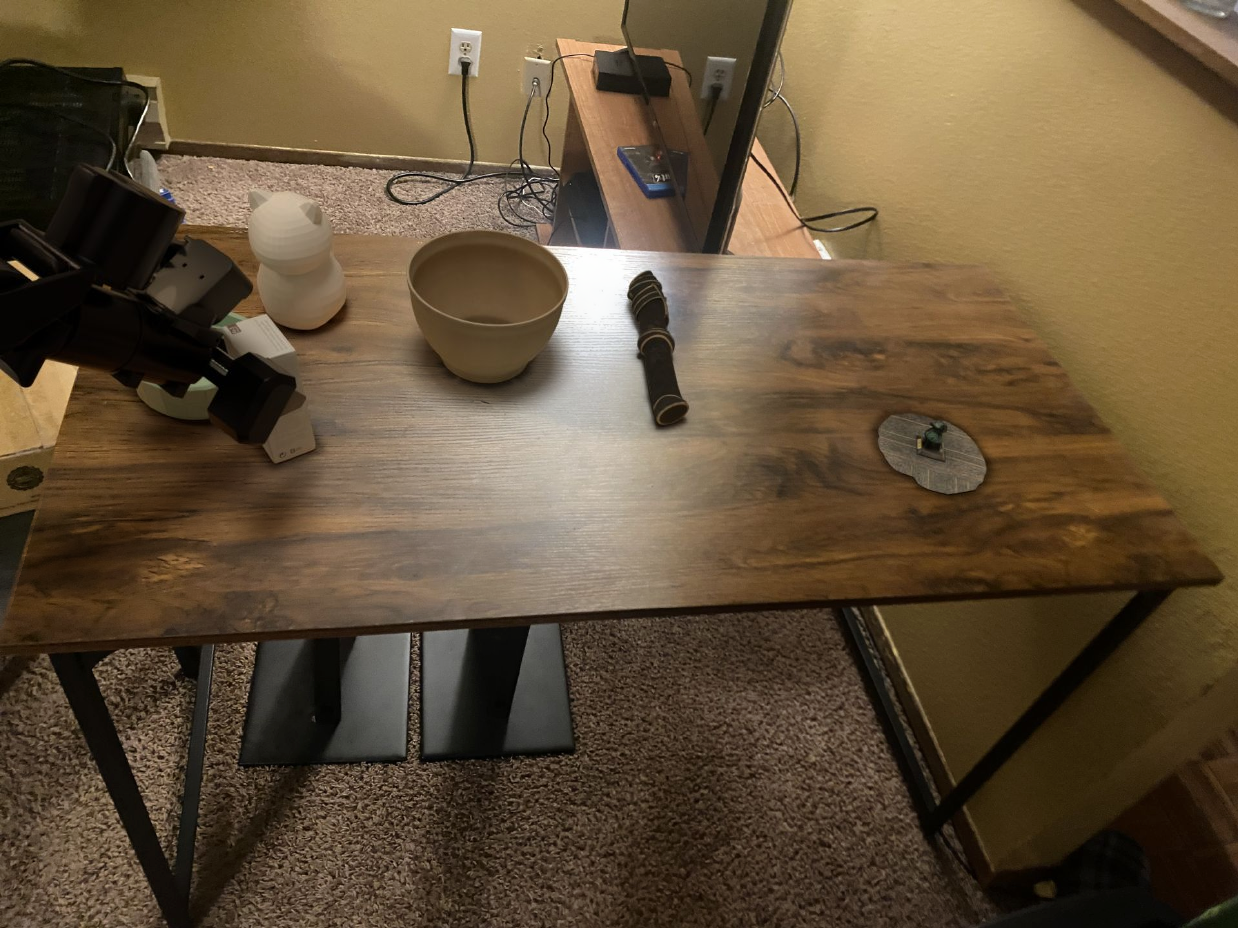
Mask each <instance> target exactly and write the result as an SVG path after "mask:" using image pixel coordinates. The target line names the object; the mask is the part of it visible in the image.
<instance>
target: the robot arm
mask: <svg viewBox="0 0 1238 928" xmlns="http://www.w3.org/2000/svg"><path fill="white" fill-rule="evenodd" d="M187 212H188V211H186V210H184V209H183V208H182V207H180V206H179V205H177V203H175V202H172V201H171V200H169V199H168V198H166V197H164V196H162V195H161V194H159V193H157V192H156V191H154V190H152V189H150V188H149V187H147V186H145V185H143V184H141V183H139V182H137V181H136V180H134V179H132V178H130V177H128V176H126V175H124V174H123V173H120V172H118V171H117V170H114V169H112V168H108V170H106V169H104V168H102V167H99V166H92V165H89V164H87V163H85V162H83V161H80V162H78V163H77V164H76V166H75V168H74V169H73V172H72V173H71V176H70V178H69V180H68V184H67V189H66V191H65V194H64V196H63V198H62V200H61V202H60V203H59V206H58V208H57V209H56V211H55V213H54V215H53V217H52V219H51V221H50V223H49V225H48V227H47V228H46V230H45V232H44V231H42V230H40V229H36V228H35V227H33V226H32V225H31V224H29V222H26V220H24V219H22V218H16V219H11V220H6V221H2V222H0V371H2V372H3V373H4V374H6V375H7V376H8V377H9V378H10V379H11V380H13V381H14V382H15V383H16V384H17V385H19V386H20V388H21V387H22V388H23V389H29V388H31V387H32V386H33V385H34V383H35V381H36V379H37V376H39V373H40V371H41V369H42V368H43V366H44V364H45V363H46V361H50V362H54V363H55V362H56V363H58V364H59V363H60V364H64V365H68V366H73V367H77V368H81V369H85V370H86V369H87V370H91V371H95V372H100V373H105V374H108V375H109V376H111V377H112V378H114V380H115V381H117V382H118V383H120V384H121V385H122V386H124V387H125V388H131V389H135V390H136V389H138V387H139V385H140V383H141V381H144V382H149V383H153V384H157V385H158V386H159V387H161V388H162V389H163V390H165V391H166V392H167V393H168V394H170V395H171V396H172V397H177V398H182V399H183V398H184V396H185V394H186V392H187V390H188V389H189V387H190V385H191V384H193V385H194V384H196V383H197V382H198V381H199V380H200V379H201V378H202V377H204V378H206V379H207V380H208V381H210V382H211V383H212V384H214V385H215V386H216V387H218V390H217V392H216V394H215V396H214V397H213V399H212V401H211V403H210V405H209V406H208V408H207V412H208V415H209V418H210V419H209V422H210V423H211V424H213V425H214V426H215V427H216V428H218V429H219V430H221V431H222V432H223V433H224V434H226V435H227V436H228V437H230V438H231V439H232V440H233V441H235V442H236V443H238V444H239V445H246V446H252V447H260V446H263V444H265V443H266V441H267V439H268V438H269V436H270V434H271V432H272V431H273V429H274V427H275V425H276V423H277V422H278V420H279V418H280V417H281V416H284V415H286V414H288V413H290V412H292V411H294V410H297V409H299V408H301V407H302V405H303V404H304V402H305V400H306V401H307V396H306V394H305V395H303V394H302V393H300V392H298V391H296V388H297V385H296V378H295V377H294V376H293V375H291V374H290V373H288V372H287V371H286V370H285V369H283V368H282V367H280V366H279V365H277V364H276V363H275V362H273V361H272V360H270V359H269V358H268V357H267V358H265V357H263V356H261V355H259V354H255V353H252V352H247V353H246V354H244V355H242V356H240V357H238V358H236V359H233V358H232V357H230V356H229V355H228V352H227V348H226V345H225V341H224V338H222V337H223V335H224V334H223V333H222V332H221V331H219V330H218V329H216V328H213V327H211V326H213V325H216V324H218V323H220V322H221V321H222V320H223V319H224V318H225V317H226V316H227V315H228V314H229V313H230V312H233V310H234V309H235V308H237V306H238V305H239V304H240V303H241V302H242V301H245V300H246V299H248V298H249V296H250V295H251V294H252V292H254V291H253V290H254V283H253V282H252V281H251V279H250V277H248V276H247V275H246V274H245V273H244V272H243V270H241V268H240V267H239V266H238V265H237V264H236V263H235V261H234V260H233V259H232V258H231V257H230V256H229V255H227V254H226V253H224V252H222V251H221V250H220V249H218V248H217V247H216V246H213V245H212V244H211V243H209V242H207V241H206V240H204V239H202V238H193V237H191V236H189V235H188V234H186V235H185V236H183V237H182V239H183V240H184V241H183V240H180V239H178V238H177V237H175V235H176V233H177V232H178V230H179V228H180V226H181V224H182V223H183V220H184V219H185V217H186V215H187ZM11 258H12V259H13V260H14V261H16V262H17V263H19V264H20V265H21V266H23V267H24V268H25V269H27V270H28V271H29V272H31V273H32V274H33V275H35V276H36V277H37V279H34V280H32V279H31V278H30V277H28V276H27V275H26V274H24V273H23V272H22V271H20V270H19V269H17V268H16V267H15V266H14V265H13V264H12V263H10V262H9V261H8V260H9V259H11ZM95 282H96V283H99V284H101V285H103V286H107V287H109V288H110V289H108V288H105V287H103V286H99V285H96V284H94V283H95ZM212 360H214V361H212ZM215 362H216V363H215ZM219 365H221V366H219ZM222 367H223V368H224V369H223V368H222ZM226 370H227V371H228V372H227V371H226Z"/></svg>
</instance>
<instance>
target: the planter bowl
mask: <svg viewBox="0 0 1238 928" xmlns="http://www.w3.org/2000/svg"><path fill="white" fill-rule="evenodd" d="M405 272H406V274H405V275H406V282H407V283H406V284H407V287H408V290H409V296H410V303H411V308H412V311H413V315H414V317H415V318H414V319H415V320H416V323H417V325H418V327H419V330H420V331H421V333H422V335H423V337H424V338H425V340H426V341H427V343H428V344H429V346H430V347H431V348H432V349H433V351H434V352H436V353H437V354H438V356H439V357H440V359H441V361H442V363H443V364H444V366H445V367H446V368H447V369H448V370H449V371H450V372H451V373H452V374H454V375H456V376H457V377H459V378H461V379H464V380H467V381H469V382H474V383H480V384H497V383H502V382H505V381H509V380H511V379H513V378H515V377H517V376H519V375H520V374H521V373H522V372H523V371H524V370H525V369H526V367H527V365H528V363H530V362H531V361H532V360H534V358H536V357H537V356H538V355H539V354H540V352H542V351H543V349H545V347H546V346H547V344H548V343H549V342H550V340H551V338H552V337H553V335H554V333H555V331H556V329H557V327H558V325H559V322H560V320H561V317H562V313H563V309H564V305H565V303H566V300H567V297H568V293H569V286H570V285H569V284H570V282H569V276H568V273H567V270H566V268H565V267H564V264H563V263H562V262H561V260H560V259H559V258H558V257H557V256H556V255H555V253H553V252H552V251H551V250H550V249H548V248H547V247H545V246H543V245H542V244H540V243H538V242H536V241H534V240H532V239H531V238H527V237H524V236H521V235H519V234H516V233H511V232H508V231H502V230H498V229H497V230H496V229H485V228H483V229H482V228H477V229H475V228H474V229H473V228H472V229H461V230H455V231H449V232H446V233H443V234H439V235H437V236H435V237H432V238H431V239H428V240H426V241H425V242H424V243H422V244H421V245H420V246H419V247H417V248H416V249H415V251H413V252H412V254H411V255H410V257H409V259H408V262H407V264H406V271H405Z"/></svg>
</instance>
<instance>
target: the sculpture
mask: <svg viewBox="0 0 1238 928" xmlns="http://www.w3.org/2000/svg"><path fill="white" fill-rule="evenodd" d="M877 433H878V436H879V437H878V439H877V445H878V447H879V450H880V452H881V453H882V454H883V455H884V458H885V460H886V461H887V462H888V464H889V465H890V466H891V467H892V468H893V470H895V471H896V472H899V473H901V474H904V475H907V476H910V477H913V478H914V479H915V481H916V483H917V484H918V485H919V486H920V487H923V488H924V489H927V490H930V491H934V492H937V493H941V494H946V495H950V494H959V493H964V492H970V491H976V489H977V488H978V487H979V486H980V484H982V483H983V482H984V478H985V476H986V473H987V464H986V461H985V459H984V456H983V454H982V453H981V450H980V449H979V447H978V446H977V444H976V443H975V442H974V440H973V439H972V438H971V437H969V435H968V434H967V433H966V432H965V431H963V430H962V429H960V428H958V427H957V426H955V425H953V424H951V423H950V422H948V421H946V420H943V419H938V420H935V419H934V418H932V417H929V416H926V415H922V414H918V413H915V414H914V413H912V412H909V413H900V414H892V415H889V416H888V417H887V418H886V419H885V420H883V422H882V423H881V425H879V428H878V430H877Z"/></svg>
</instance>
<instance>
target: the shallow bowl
mask: <svg viewBox="0 0 1238 928" xmlns="http://www.w3.org/2000/svg"><path fill="white" fill-rule="evenodd" d="M247 319H249V317H246V316H244V315H241V314H238V313H236V312H233V311H231V312H230V313H229V314H228V315H227V316H226V317H225V318H224V319H223V320H222V321H221V322H220V323H218V324H216V325H213V326H211V327H213V328H216V329H218V330H219V331H221V332H222V330H221V328H222V327H225V326H228V325H231V324H234V323H238V322H241V321H244V320H247ZM222 338H223V337H222ZM212 361H214V360H212ZM215 363H216V362H215ZM219 366H221V365H219ZM222 368H223V367H222ZM223 369H224V368H223ZM226 371H227V370H226ZM227 372H228V371H227ZM135 390H136V393H137V396H138V397H139V398H140V399H141V400H142V401H143V402H144V403H145V404H146V405H147V406H148V407H149V408H151V409H153V410H155V411H156V412H158V413H160V414H163V415H165V416H168V417H171V418H175V419H179V420H189V421H191V420H192V421H195V420H196V421H197V420H198V421H199V420H200V421H201V420H210V418H209V415H208V412H207V408H208V406H209V405H210V403H211V401H212V399H213V397H214V396H215V394H216V392H217V390H218V387H216V386H215V385H214V384H212V383H211V382H210V381H208V380H207V379H206V378H204V377H202V378H201V379H200V380H199V381H198V382H197V383H196V384H194V385H193V384H191V385H190V387H189V389H188V390H187V392H186V394H185V396H184V398H183V399H182V398H177V397H172V396H171V395H170V394H168V393H167V392H166V391H165V390H163V389H162V388H161V387H159V386H158V385H157V384H153V383H149V382H144V381H141V383H140V385H139V387H138V389H135Z"/></svg>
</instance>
